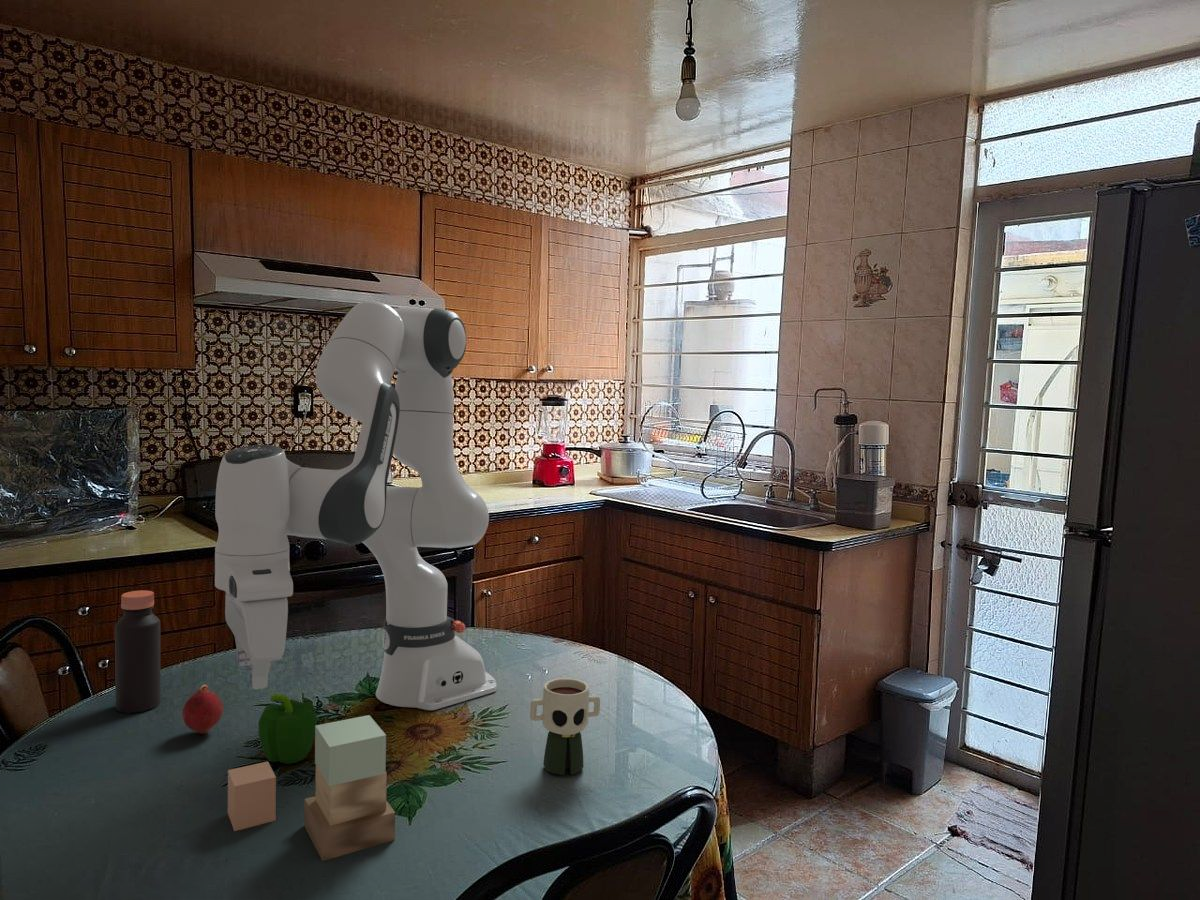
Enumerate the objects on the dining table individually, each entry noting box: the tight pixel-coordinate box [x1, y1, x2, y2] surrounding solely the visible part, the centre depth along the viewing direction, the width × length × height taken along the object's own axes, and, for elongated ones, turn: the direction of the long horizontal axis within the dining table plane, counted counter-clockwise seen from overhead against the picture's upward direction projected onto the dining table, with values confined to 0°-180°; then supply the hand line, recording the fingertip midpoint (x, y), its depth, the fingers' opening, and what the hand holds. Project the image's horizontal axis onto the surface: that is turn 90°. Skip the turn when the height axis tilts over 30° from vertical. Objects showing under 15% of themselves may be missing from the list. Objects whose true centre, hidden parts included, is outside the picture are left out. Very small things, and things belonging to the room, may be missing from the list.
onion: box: [182, 684, 224, 735], centre depth 128 cm, size 6×6×8 cm
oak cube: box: [314, 765, 388, 826], centre depth 101 cm, size 7×7×5 cm
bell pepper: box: [257, 693, 318, 765], centre depth 121 cm, size 8×8×10 cm
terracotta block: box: [227, 760, 277, 832], centre depth 104 cm, size 5×5×6 cm
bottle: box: [114, 589, 162, 714], centre depth 137 cm, size 7×7×20 cm
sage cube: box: [314, 714, 387, 787], centre depth 101 cm, size 7×7×5 cm
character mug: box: [529, 677, 601, 776], centre depth 121 cm, size 11×7×13 cm, turn 105°
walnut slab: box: [303, 795, 396, 862], centre depth 102 cm, size 9×9×4 cm
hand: (251, 675), depth 103 cm, fingers open, 8 cm apart
